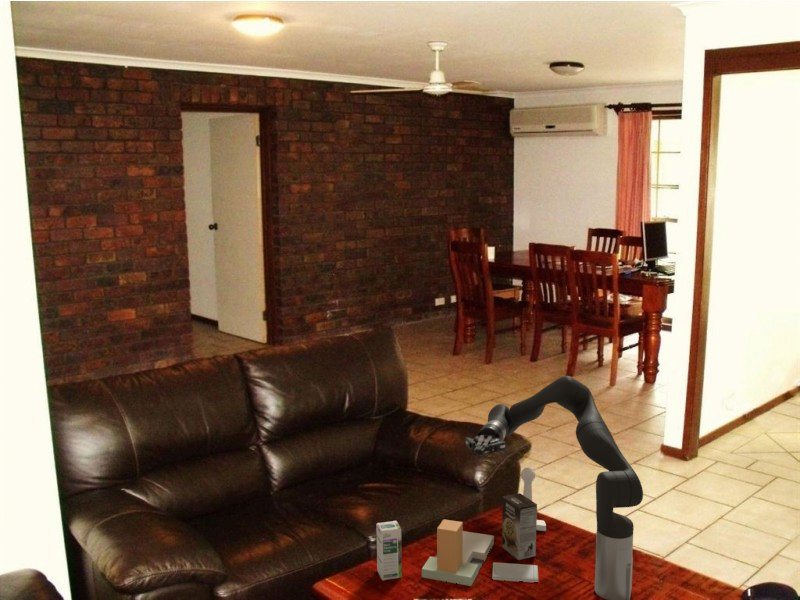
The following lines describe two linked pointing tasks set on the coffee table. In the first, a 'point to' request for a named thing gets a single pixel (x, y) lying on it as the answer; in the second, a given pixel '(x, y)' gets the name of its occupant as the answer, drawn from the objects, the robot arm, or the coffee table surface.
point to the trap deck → (473, 559)
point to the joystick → (528, 477)
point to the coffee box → (519, 526)
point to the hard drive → (515, 572)
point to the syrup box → (389, 550)
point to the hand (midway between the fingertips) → (478, 453)
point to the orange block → (449, 545)
